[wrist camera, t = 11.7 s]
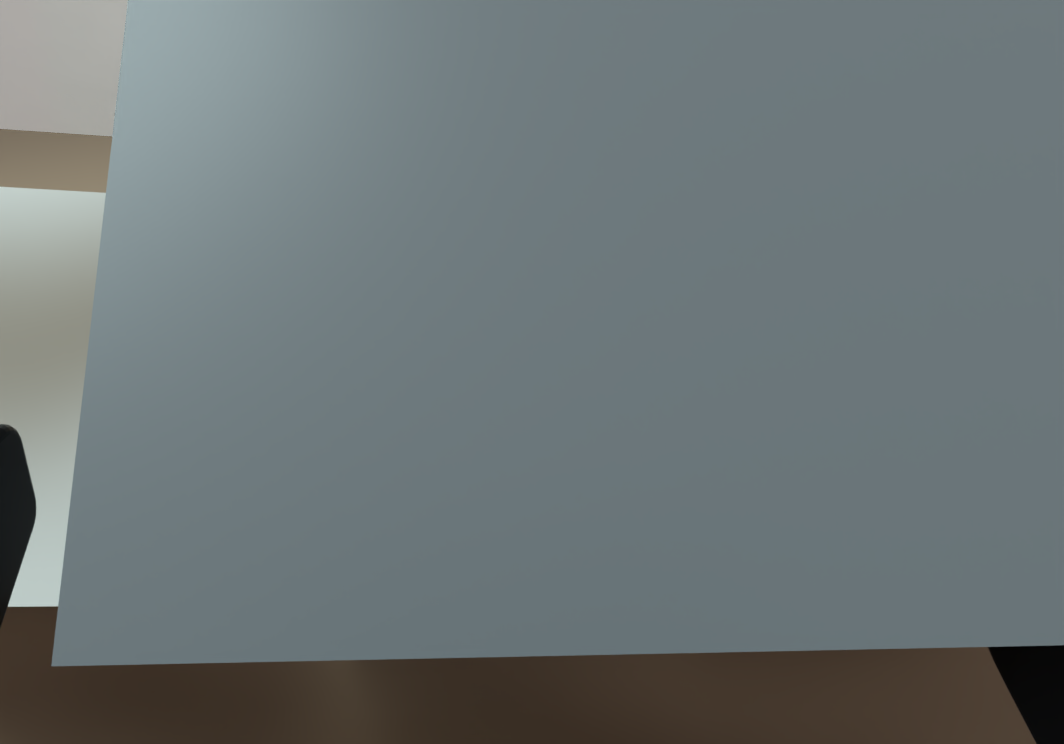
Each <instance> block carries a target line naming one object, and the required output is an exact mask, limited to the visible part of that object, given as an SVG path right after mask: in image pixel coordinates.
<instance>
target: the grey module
mask: <svg viewBox="0 0 1064 744" xmlns="http://www.w3.org/2000/svg"><path fill="white" fill-rule="evenodd" d="M1053 645H1064V0H128V6H127V15H126V23H125V32H124V41H123V49H122V58H121V67H120V75H119V84H118V93H117V101H116V110H115V119H114V127H113V136H112V145H111V153H110V162H109V171H108V179H107V188H106V197H105V205H104V214H103V223H102V231H101V240H100V249H99V257H98V266H97V274H96V283H95V292H94V300H93V309H92V318H91V326H90V335H89V344H88V352H87V361H86V370H85V378H84V387H83V396H82V404H81V413H80V422H79V430H78V439H77V448H76V456H75V465H74V474H73V482H72V491H71V499H70V508H69V517H68V525H67V534H66V543H65V551H64V560H63V569H62V577H61V586H60V595H59V603H58V612H57V621H56V629H55V638H54V647H53V655H52V664H51V666H95V665H143V664H191V663H239V662H287V661H335V660H383V659H430V658H478V657H526V656H574V655H622V654H670V653H718V652H766V651H814V650H862V649H910V648H957V647H1005V646H1053Z"/></svg>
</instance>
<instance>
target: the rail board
mask: <svg viewBox="0 0 1064 744" xmlns="http://www.w3.org/2000/svg"><path fill="white" fill-rule="evenodd" d="M111 145H112V137H111V136H96V135H81V134H66V133H51V132H36V131H21V130H7V129H0V424H8V425H10V426H12V427H13V428H15V429H16V430H17V431H18V433H19V435H20V437H21V440H22V443H23V447H24V451H25V455H26V459H27V464H28V468H29V472H30V476H31V480H32V484H33V489H34V493H35V497H36V519H35V524H34V528H33V531H32V534H31V537H30V540H29V543H28V546H27V549H26V552H25V555H24V558H23V561H22V565H21V568H20V571H19V574H18V577H17V580H16V583H15V586H14V589H13V592H12V595H11V598H10V601H9V604H8V607H7V610H6V613H5V616H4V619H3V622H2V625H1V629H0V744H1036V742H1035V740H1034V738H1033V737H1032V735H1031V733H1030V731H1029V729H1028V727H1027V725H1026V723H1025V721H1024V719H1023V718H1022V716H1021V714H1020V712H1019V710H1018V708H1017V706H1016V704H1015V702H1014V700H1013V698H1012V697H1011V695H1010V693H1009V691H1008V689H1007V687H1006V685H1005V683H1004V681H1003V679H1002V677H1001V675H1000V673H999V671H998V669H997V667H996V665H995V663H994V661H993V658H992V656H991V654H990V652H989V649H988V647H957V648H910V649H862V650H814V651H766V652H718V653H670V654H622V655H574V656H526V657H478V658H430V659H383V660H335V661H287V662H239V663H191V664H143V665H95V666H51V664H52V655H53V647H54V638H55V629H56V621H57V612H58V603H59V595H60V586H61V577H62V569H63V560H64V551H65V543H66V534H67V525H68V517H69V508H70V499H71V491H72V482H73V474H74V465H75V456H76V448H77V439H78V430H79V422H80V413H81V404H82V396H83V387H84V378H85V370H86V361H87V352H88V344H89V335H90V326H91V318H92V309H93V300H94V292H95V283H96V274H97V266H98V257H99V249H100V240H101V231H102V223H103V214H104V205H105V197H106V188H107V179H108V171H109V162H110V153H111Z"/></svg>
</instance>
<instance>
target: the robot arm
mask: <svg viewBox="0 0 1064 744" xmlns="http://www.w3.org/2000/svg"><path fill="white" fill-rule="evenodd" d="M35 519H36V497H35V493H34V489H33V484H32V480H31V476H30V472H29V468H28V464H27V459H26V455H25V451H24V447H23V443H22V440H21V437H20V435H19V433H18V431H17V430H16V429H15V428H13V427H12V426H10V425H8V424H0V629H1V625H2V622H3V619H4V616H5V613H6V610H7V607H8V604H9V601H10V598H11V595H12V592H13V589H14V586H15V583H16V580H17V577H18V574H19V571H20V568H21V565H22V561H23V558H24V555H25V552H26V549H27V546H28V543H29V540H30V537H31V534H32V531H33V528H34V524H35ZM988 649H989V652H990V654H991V656H992V658H993V661H994V663H995V665H996V667H997V669H998V671H999V673H1000V675H1001V677H1002V679H1003V681H1004V683H1005V685H1006V687H1007V689H1008V691H1009V693H1010V695H1011V697H1012V698H1013V700H1014V702H1015V704H1016V706H1017V708H1018V710H1019V712H1020V714H1021V716H1022V718H1023V719H1024V721H1025V723H1026V725H1027V727H1028V729H1029V731H1030V733H1031V735H1032V737H1033V738H1034V740H1035V742H1036V744H1064V645H1053V646H1005V647H988Z"/></svg>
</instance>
